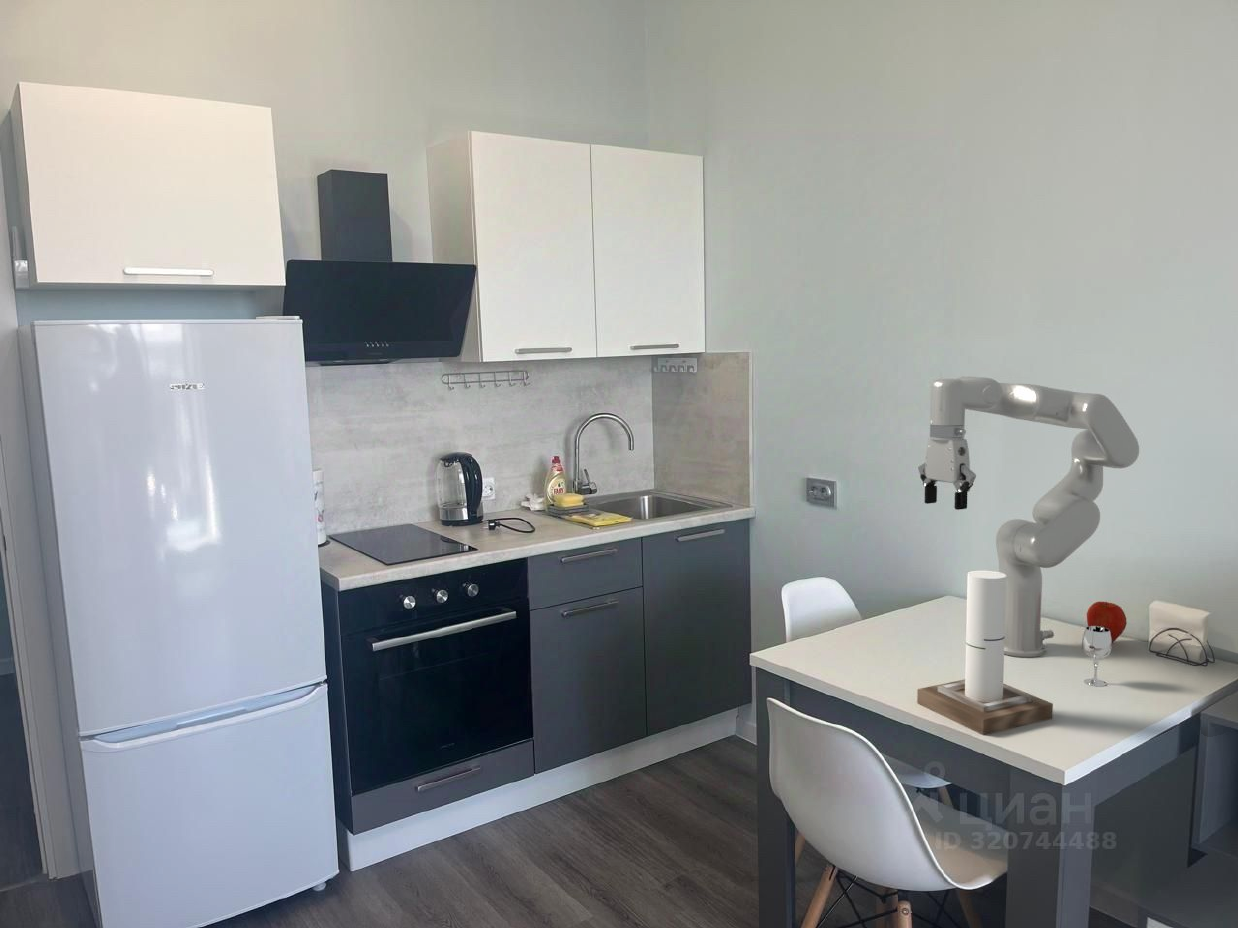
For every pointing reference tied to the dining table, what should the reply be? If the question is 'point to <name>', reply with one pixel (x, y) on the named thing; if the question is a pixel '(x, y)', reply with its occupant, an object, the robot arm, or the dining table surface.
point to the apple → (1107, 618)
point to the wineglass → (1096, 648)
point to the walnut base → (985, 707)
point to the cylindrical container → (985, 635)
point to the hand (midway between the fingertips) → (945, 505)
